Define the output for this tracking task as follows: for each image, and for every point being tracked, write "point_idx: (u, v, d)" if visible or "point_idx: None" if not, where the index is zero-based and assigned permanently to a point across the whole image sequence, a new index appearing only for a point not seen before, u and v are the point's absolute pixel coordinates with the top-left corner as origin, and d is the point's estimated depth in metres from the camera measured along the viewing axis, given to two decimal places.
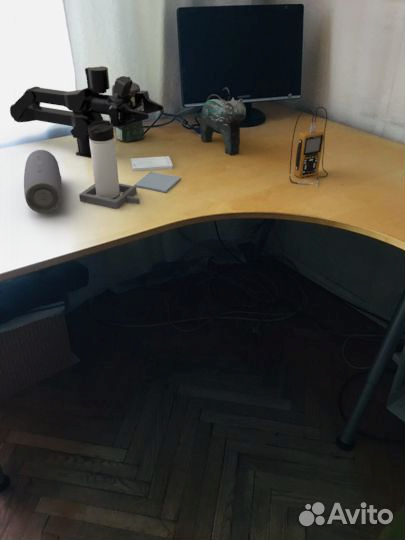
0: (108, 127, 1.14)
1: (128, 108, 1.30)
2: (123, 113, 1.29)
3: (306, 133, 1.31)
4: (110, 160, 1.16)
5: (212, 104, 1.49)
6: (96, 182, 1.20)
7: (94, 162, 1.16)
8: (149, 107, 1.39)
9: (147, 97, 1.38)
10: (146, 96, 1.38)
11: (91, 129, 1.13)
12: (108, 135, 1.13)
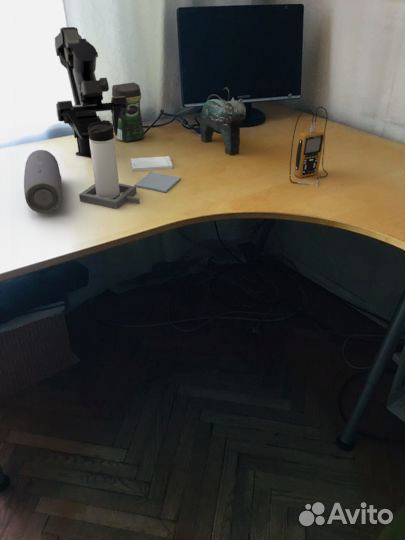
0: (108, 127, 1.14)
1: (73, 116, 1.20)
2: (67, 116, 1.21)
3: (306, 133, 1.31)
4: (110, 160, 1.16)
5: (212, 104, 1.49)
6: (96, 182, 1.20)
7: (94, 162, 1.16)
8: (113, 120, 1.26)
9: (117, 111, 1.24)
10: (116, 109, 1.24)
11: (91, 129, 1.13)
12: (108, 135, 1.13)
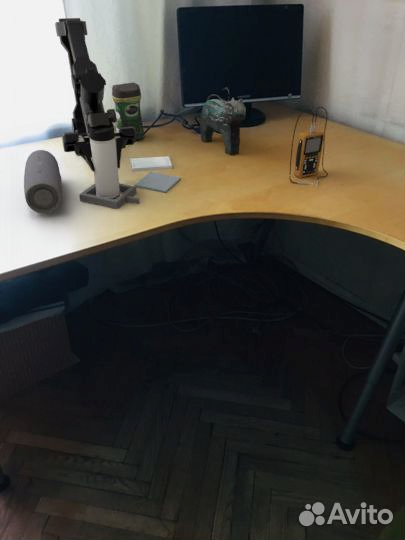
0: (109, 127, 1.14)
1: (84, 148, 1.16)
2: (78, 147, 1.17)
3: (306, 133, 1.31)
4: (110, 160, 1.16)
5: (212, 104, 1.49)
6: (96, 182, 1.20)
7: (94, 162, 1.16)
8: None
9: (120, 143, 1.19)
10: (119, 141, 1.19)
11: (92, 129, 1.13)
12: (109, 135, 1.13)
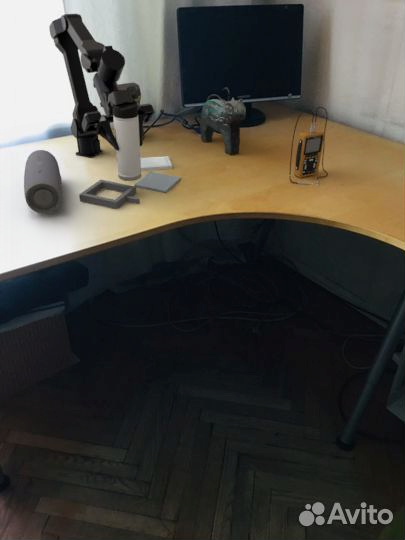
0: (132, 104, 1.14)
1: (107, 127, 1.16)
2: (100, 127, 1.16)
3: (306, 133, 1.31)
4: (135, 137, 1.17)
5: (212, 104, 1.49)
6: (119, 161, 1.20)
7: (119, 140, 1.16)
8: None
9: (140, 120, 1.20)
10: (140, 119, 1.19)
11: (117, 107, 1.12)
12: (134, 112, 1.13)
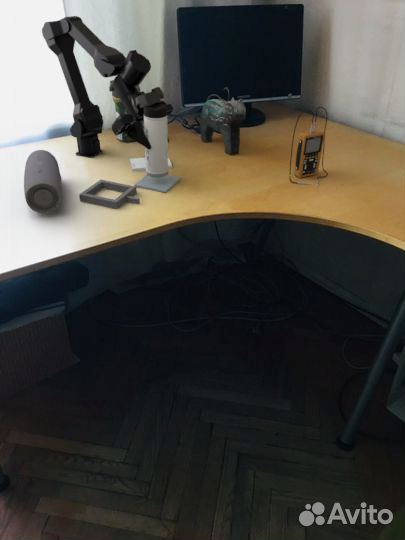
0: (161, 104, 1.21)
1: (139, 128, 1.21)
2: (132, 128, 1.21)
3: (306, 133, 1.31)
4: (166, 135, 1.23)
5: (212, 104, 1.49)
6: (151, 160, 1.26)
7: (152, 139, 1.22)
8: None
9: None
10: None
11: (149, 107, 1.18)
12: (166, 111, 1.20)
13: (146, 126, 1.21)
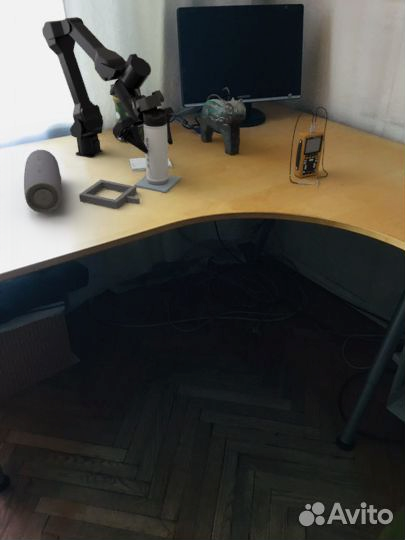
0: (161, 112, 1.22)
1: (136, 132, 1.21)
2: (128, 132, 1.21)
3: (306, 133, 1.31)
4: (166, 143, 1.25)
5: (212, 104, 1.49)
6: (151, 167, 1.27)
7: (152, 148, 1.24)
8: None
9: (168, 121, 1.28)
10: (167, 119, 1.27)
11: (149, 116, 1.20)
12: (165, 119, 1.21)
13: (146, 135, 1.23)
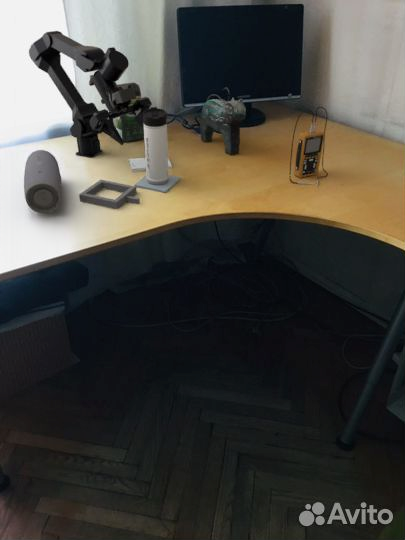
0: (161, 112, 1.22)
1: (111, 124, 1.26)
2: (104, 125, 1.27)
3: (306, 133, 1.31)
4: (166, 143, 1.25)
5: (212, 104, 1.49)
6: (151, 167, 1.27)
7: (152, 147, 1.24)
8: (140, 121, 1.34)
9: None
10: None
11: (149, 116, 1.20)
12: (165, 119, 1.21)
13: (146, 134, 1.23)
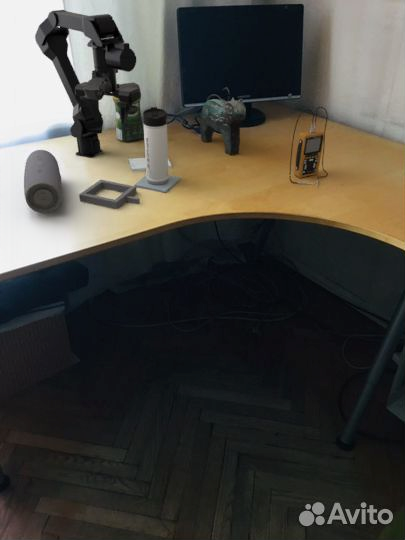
0: (161, 112, 1.22)
1: (88, 101, 1.34)
2: None
3: (306, 133, 1.31)
4: (166, 143, 1.25)
5: (212, 104, 1.49)
6: (151, 167, 1.27)
7: (152, 147, 1.24)
8: None
9: (122, 106, 1.30)
10: (121, 105, 1.29)
11: (149, 116, 1.20)
12: (165, 119, 1.21)
13: (146, 134, 1.23)
